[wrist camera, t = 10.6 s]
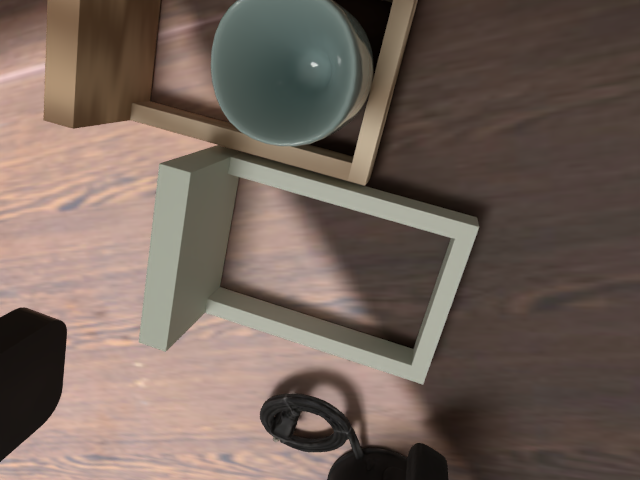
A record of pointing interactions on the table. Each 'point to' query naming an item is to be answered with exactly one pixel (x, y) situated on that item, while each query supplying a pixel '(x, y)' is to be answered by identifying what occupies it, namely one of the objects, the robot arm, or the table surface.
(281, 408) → the milk frother
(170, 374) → the table surface
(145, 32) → the wooden drawer
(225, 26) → the cup
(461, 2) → the table surface
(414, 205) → the frame
